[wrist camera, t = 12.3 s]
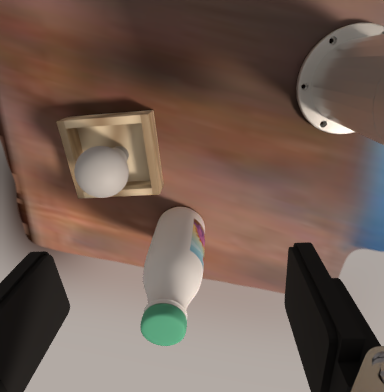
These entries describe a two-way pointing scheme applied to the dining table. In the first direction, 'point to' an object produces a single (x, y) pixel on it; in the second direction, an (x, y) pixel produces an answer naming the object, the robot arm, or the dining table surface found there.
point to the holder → (117, 136)
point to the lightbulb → (102, 170)
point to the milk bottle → (172, 274)
